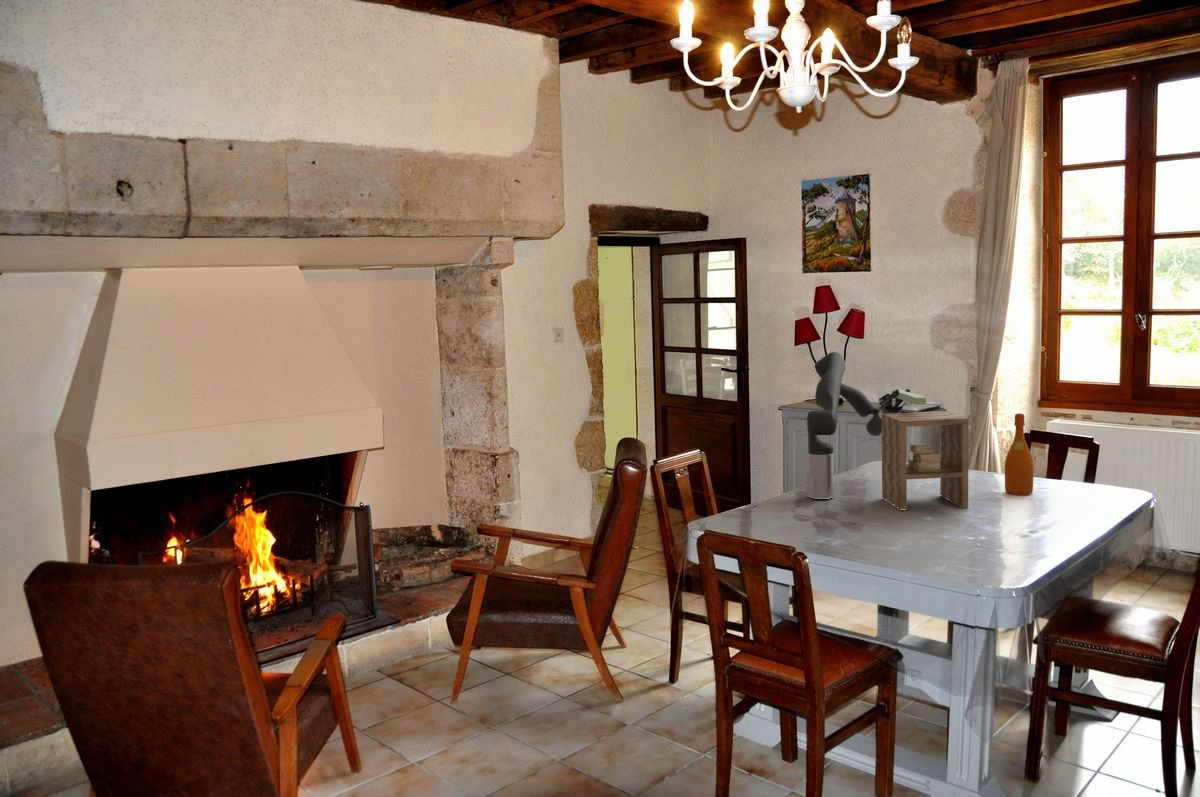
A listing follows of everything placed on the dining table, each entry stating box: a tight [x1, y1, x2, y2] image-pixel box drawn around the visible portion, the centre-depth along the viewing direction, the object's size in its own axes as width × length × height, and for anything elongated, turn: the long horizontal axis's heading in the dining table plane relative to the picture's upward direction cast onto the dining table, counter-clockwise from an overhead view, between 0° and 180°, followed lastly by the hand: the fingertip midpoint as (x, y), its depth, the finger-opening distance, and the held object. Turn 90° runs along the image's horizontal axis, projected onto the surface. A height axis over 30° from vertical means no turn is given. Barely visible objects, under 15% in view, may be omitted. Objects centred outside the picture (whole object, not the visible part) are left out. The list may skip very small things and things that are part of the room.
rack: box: [881, 410, 970, 510], centre depth 343 cm, size 20×24×32 cm
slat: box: [891, 389, 927, 406], centre depth 356 cm, size 26×4×2 cm, turn 2°
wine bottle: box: [1004, 412, 1035, 496], centre depth 353 cm, size 10×10×30 cm
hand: (903, 391), depth 362 cm, fingers closed on slat, 3 cm apart
